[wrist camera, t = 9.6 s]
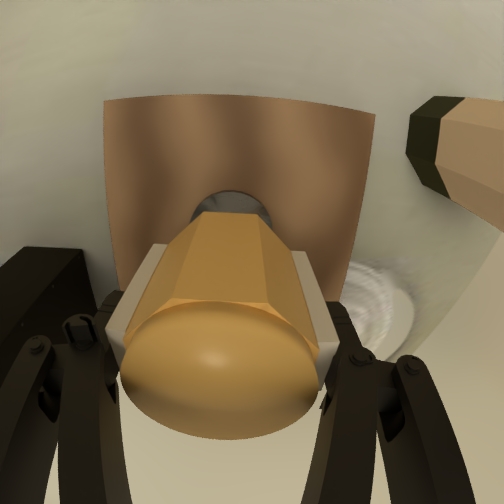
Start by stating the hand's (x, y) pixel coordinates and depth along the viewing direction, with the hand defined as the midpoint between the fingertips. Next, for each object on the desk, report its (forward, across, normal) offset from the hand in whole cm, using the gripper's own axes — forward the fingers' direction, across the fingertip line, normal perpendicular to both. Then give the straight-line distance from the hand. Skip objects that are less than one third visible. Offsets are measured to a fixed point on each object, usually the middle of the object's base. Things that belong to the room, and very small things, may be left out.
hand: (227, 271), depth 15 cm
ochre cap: (0, 0, 0) cm, 0 cm away
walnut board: (+8, 0, 0) cm, 8 cm away
